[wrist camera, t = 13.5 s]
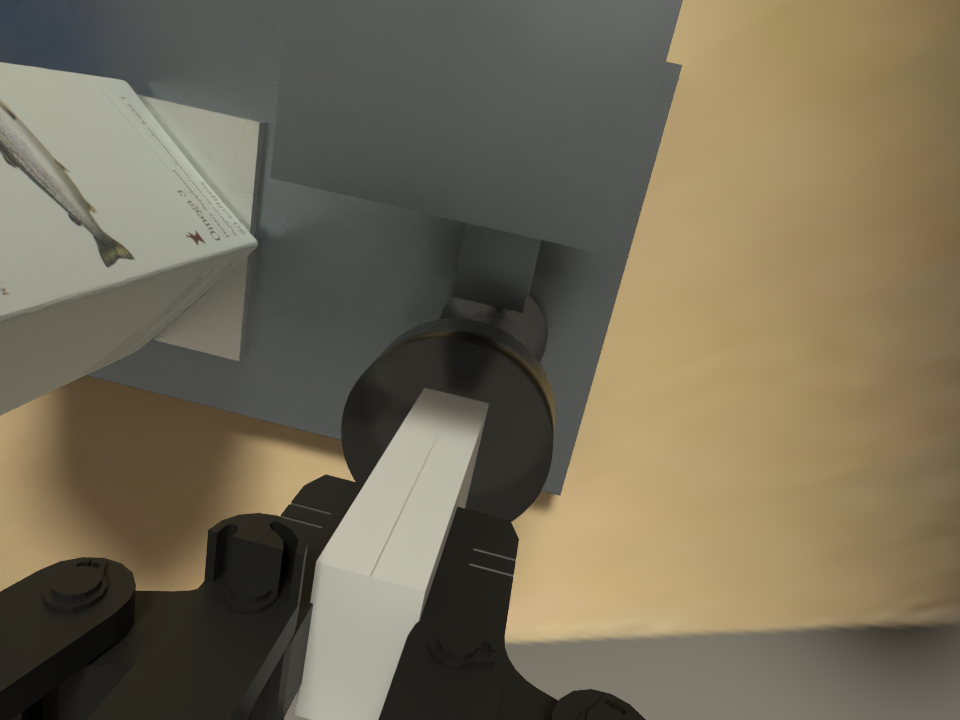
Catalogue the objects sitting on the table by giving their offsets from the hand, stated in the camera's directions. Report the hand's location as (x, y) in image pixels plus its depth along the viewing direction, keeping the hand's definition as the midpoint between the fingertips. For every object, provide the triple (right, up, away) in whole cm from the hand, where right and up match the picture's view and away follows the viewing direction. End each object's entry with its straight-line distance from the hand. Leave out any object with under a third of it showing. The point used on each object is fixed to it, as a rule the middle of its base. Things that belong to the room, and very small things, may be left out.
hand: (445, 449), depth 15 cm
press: (-6, +7, +11) cm, 15 cm away
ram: (+1, +3, +8) cm, 8 cm away
